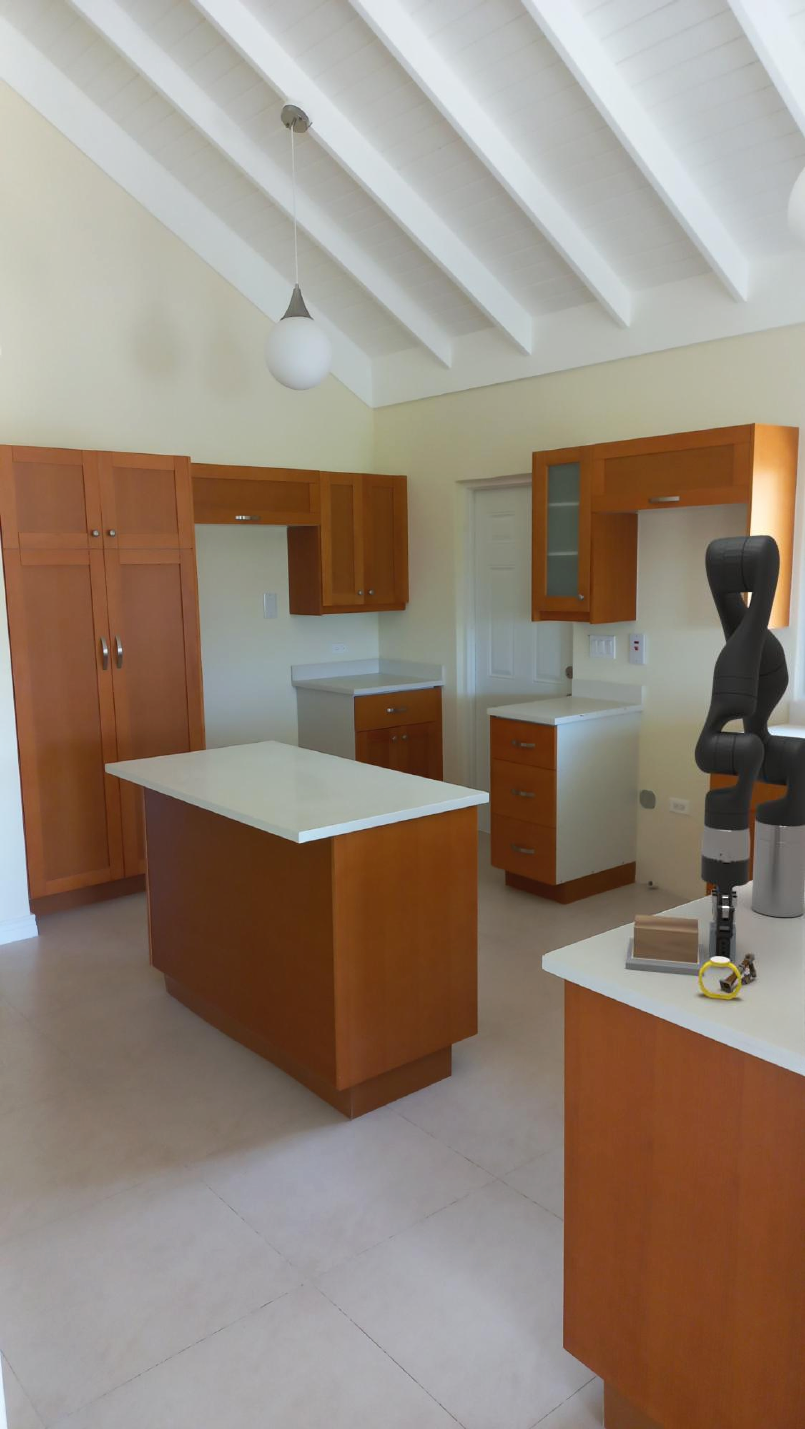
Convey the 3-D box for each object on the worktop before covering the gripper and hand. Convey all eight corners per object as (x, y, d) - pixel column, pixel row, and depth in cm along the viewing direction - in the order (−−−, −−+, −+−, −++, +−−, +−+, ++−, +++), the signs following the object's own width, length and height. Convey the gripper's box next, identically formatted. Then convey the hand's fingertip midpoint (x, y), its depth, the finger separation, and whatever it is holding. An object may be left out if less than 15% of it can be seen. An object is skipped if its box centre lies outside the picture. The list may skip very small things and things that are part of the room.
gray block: (708, 950, 168) (709, 922, 167) (733, 952, 167) (734, 923, 166) (709, 959, 164) (710, 929, 164) (735, 961, 163) (736, 931, 162)
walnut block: (635, 943, 169) (635, 914, 168) (696, 948, 166) (697, 919, 165) (633, 957, 162) (633, 927, 161) (697, 963, 159) (698, 932, 159)
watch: (699, 1000, 148) (697, 961, 148) (699, 993, 151) (697, 955, 150) (742, 1002, 146) (740, 963, 146) (741, 995, 149) (739, 956, 148)
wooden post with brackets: (763, 974, 155) (757, 951, 154) (735, 1006, 151) (728, 982, 150) (753, 970, 157) (747, 947, 155) (725, 1002, 153) (718, 979, 151)
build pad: (629, 943, 171) (629, 937, 171) (702, 950, 168) (702, 943, 168) (625, 968, 160) (626, 962, 160) (704, 976, 157) (704, 969, 157)
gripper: (700, 841, 171) (697, 938, 173) (702, 862, 158) (699, 967, 160) (747, 844, 169) (743, 942, 171) (752, 865, 156) (748, 971, 158)
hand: (722, 953), depth 165 cm, fingers closed on gray block, 4 cm apart
